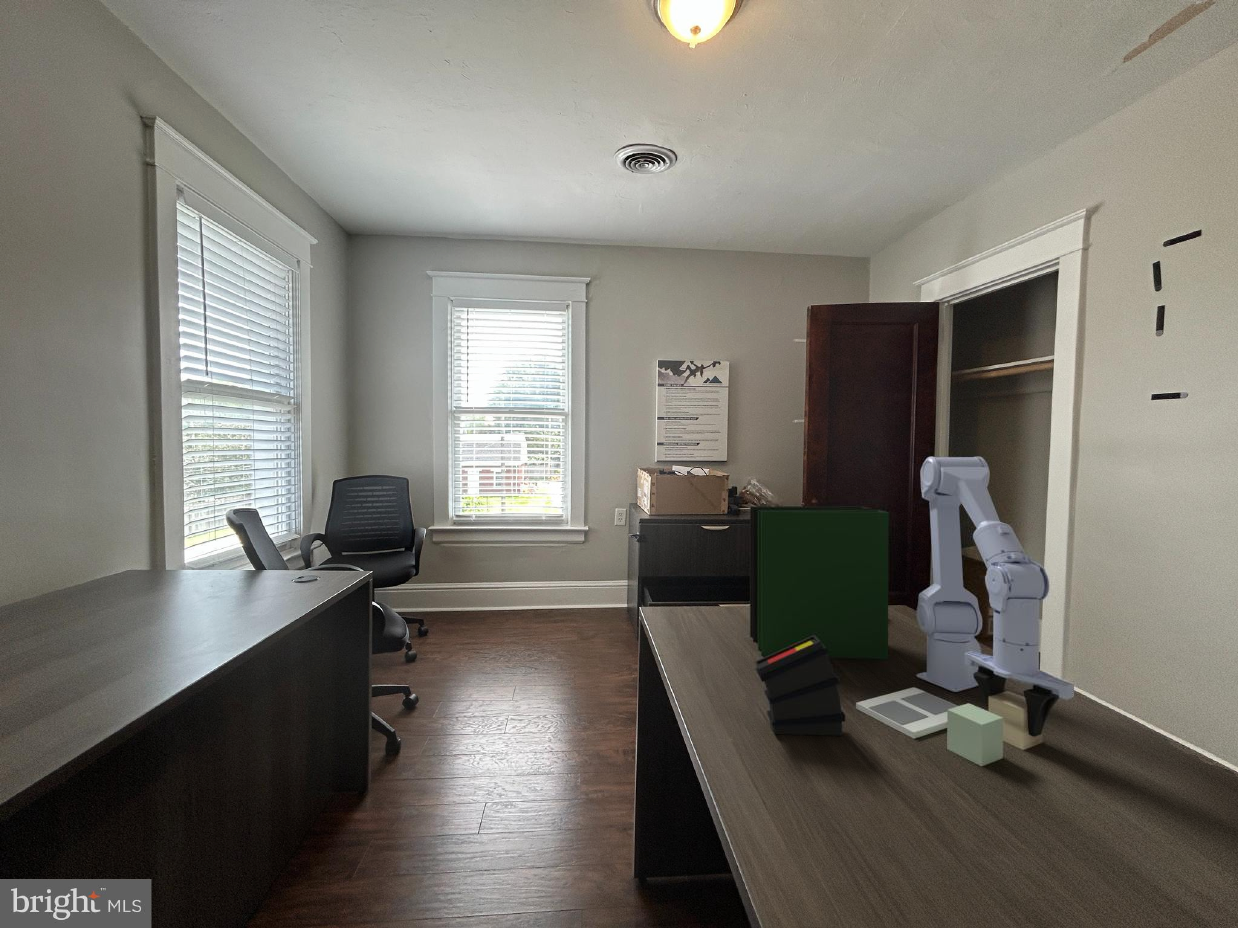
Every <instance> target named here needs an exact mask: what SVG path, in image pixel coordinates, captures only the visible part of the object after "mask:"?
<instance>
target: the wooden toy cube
mask: <svg viewBox="0 0 1238 928" xmlns="http://www.w3.org/2000/svg"><path fill="white" fill-rule="evenodd" d="M987 711H988V712H991V713H993V714H996V715H998V716H1000V717H1003V743H1004V742H1005V743H1007V744H1009V745H1011V746H1014V747H1016V748H1018V749H1020V750H1023V751H1024V750H1027V749H1029V748H1032V747H1034V746H1037V745H1039V744H1042V743H1043V729H1044V728H1043V729H1042V734H1041V735H1038V736H1035V737H1033V736H1031V735H1029V731H1028V709H1027V704H1026V699H1025V696H1022V695H1019V694H1017V693H1014V692H1012V691H1009V690H1006V691H1004V692H1002V693H999V694H996V695H993V696H989V710H988V709H987Z"/></svg>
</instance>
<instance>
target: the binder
mask: <svg viewBox="0 0 1238 928" xmlns="http://www.w3.org/2000/svg"><path fill="white" fill-rule="evenodd" d="M749 507H750V508H749V511H750V512H749V519H750V520H749V525H750V527H749V530H750V531H749V637H750V638H752V642H754V643H755V642H757V651H760V656H761V657H763V656H764V657H766V656H768V655H771V654H773V653H775V652H777V651H780V650H782V649H784V648H786V647H788V646H791V645H793V644H795V643H797V642H799V641H802V640H804V639H806V638H808V637H810V636H813V635H815V636H816V637H817V638H818V639H819V640H820V642H821V643H822V644H823V645H824V646H825V647H826V648H827V650H828V653H826V654H827V656H828V658H836V659H837V658H840V659H841V658H842V659H843V658H845V659H883V660H885V659H886V660H887V659H889V544H890V543H889V528H890V525H889V523H890V522H889V519H890V518H889V512H887V511H883V510H879V509H872V508H870V507H866V506H851V505H849V506H848V505H846V506H845V505H844V506H838V505H837V506H828V505H827V506H826V505H824V506H821V505H819V506H813V505H812V506H811V505H810V506H806V505H805V506H800V505H799V506H792V505H791V506H788V505H787V506H783V505H782V506H778V505H777V506H775V505H774V506H765V505H764V506H762V505H761V506H759V505H758V506H751V505H750V506H749Z"/></svg>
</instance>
